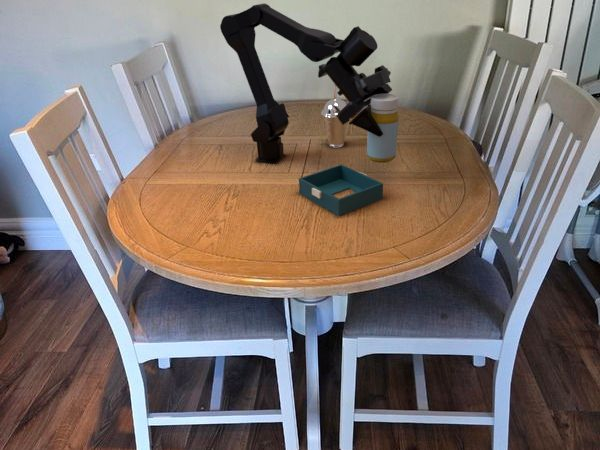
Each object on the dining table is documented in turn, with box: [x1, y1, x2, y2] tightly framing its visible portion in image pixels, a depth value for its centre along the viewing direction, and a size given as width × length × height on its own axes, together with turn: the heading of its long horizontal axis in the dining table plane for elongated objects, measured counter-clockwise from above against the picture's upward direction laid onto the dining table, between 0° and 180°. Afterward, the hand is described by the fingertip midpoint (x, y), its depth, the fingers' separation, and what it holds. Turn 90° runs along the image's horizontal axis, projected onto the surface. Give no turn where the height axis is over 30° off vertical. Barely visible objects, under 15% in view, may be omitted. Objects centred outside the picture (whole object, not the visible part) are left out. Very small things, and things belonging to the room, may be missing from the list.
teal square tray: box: [298, 163, 384, 217], centre depth 115 cm, size 15×14×4 cm
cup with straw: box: [321, 83, 347, 149], centre depth 140 cm, size 8×9×20 cm
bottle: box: [366, 93, 399, 164], centre depth 115 cm, size 7×7×15 cm
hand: (387, 131), depth 115 cm, fingers closed on bottle, 7 cm apart
